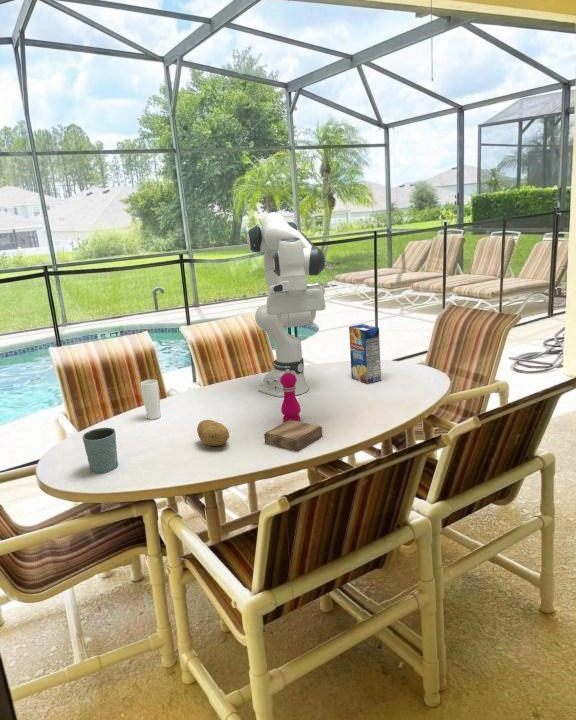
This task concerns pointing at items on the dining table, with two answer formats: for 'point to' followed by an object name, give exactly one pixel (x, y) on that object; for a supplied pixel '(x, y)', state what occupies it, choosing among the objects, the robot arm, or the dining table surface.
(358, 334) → the juice carton
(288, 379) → the pepper mill
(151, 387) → the drinking glass
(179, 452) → the dining table surface
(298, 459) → the dining table surface
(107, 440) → the green textured cup
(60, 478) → the dining table surface
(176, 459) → the dining table surface
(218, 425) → the potato
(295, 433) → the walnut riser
